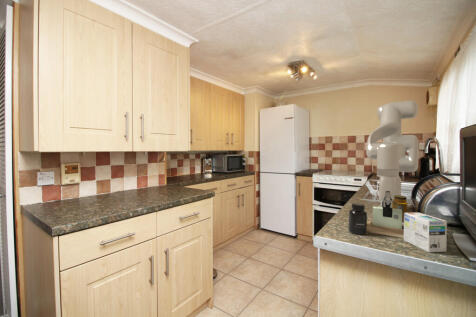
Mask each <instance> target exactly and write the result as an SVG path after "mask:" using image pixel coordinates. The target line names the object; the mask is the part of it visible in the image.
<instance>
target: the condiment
mask: <svg viewBox="0 0 476 317" xmlns="http://www.w3.org/2000/svg"><path fill="white" fill-rule="evenodd" d="M392 208H393V209H401V210H402V225H404V213H408V201H407V196H404V195H401V196H399V195H395V196H394V201H393V202H392Z"/></svg>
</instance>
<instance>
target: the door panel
mask: <svg viewBox="0 0 476 317" xmlns="http://www.w3.org/2000/svg"><path fill="white" fill-rule="evenodd" d="M372 221H373V225H377V226H384V227H391V228H397V229H402V225H403V224H402V210H401V209H392V218H389V217H383V207H378V206H372Z"/></svg>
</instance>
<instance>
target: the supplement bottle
mask: <svg viewBox="0 0 476 317" xmlns="http://www.w3.org/2000/svg"><path fill="white" fill-rule="evenodd" d="M365 209H366V206H365V204H364V203H359V202H352V203H351V208H350V209H349V211H348V226H347V227H348V228H347V229H348V232H349V233H351V234H353V235H356V236H357V235H358V236H365V235H367V233H368V232H367V220H368V212H367V211H366V210H365Z"/></svg>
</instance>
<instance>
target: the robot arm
mask: <svg viewBox="0 0 476 317" xmlns="http://www.w3.org/2000/svg"><path fill="white" fill-rule="evenodd" d="M418 104H419V103H417V101H415V100H403V101H393V102H389V103H385V104H382V105H380V106H378V107H377V109H376V114H377V115H376V116H377V118H378V119H379V126H377V127H376V128H375V129H374V130H372V131H371V132H370V134H369V135H368V137H367V141H366V148H365V149H366V151H365V154H366V156H367V158H368V159H369V160H370V159H371V160H376V177H378V178H379V181H378V182H379V184H378V199H379V201H380V204H379V205H377V207H383V217H389V218H392V209H393V208H392V202H393V201H394V196H395V195H399V196H402V178H401V177H400V172H401V173H415V172H417V171H418V168H419V149H420V148H419V145H420V144H419V138H418V137H417V136H416V135H414V134H402V120H405V119H407V120H408V119H416V117H417V116H418V114H419V106H418ZM380 140H382V142H378V141H380ZM406 153H407V154H406Z"/></svg>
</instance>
